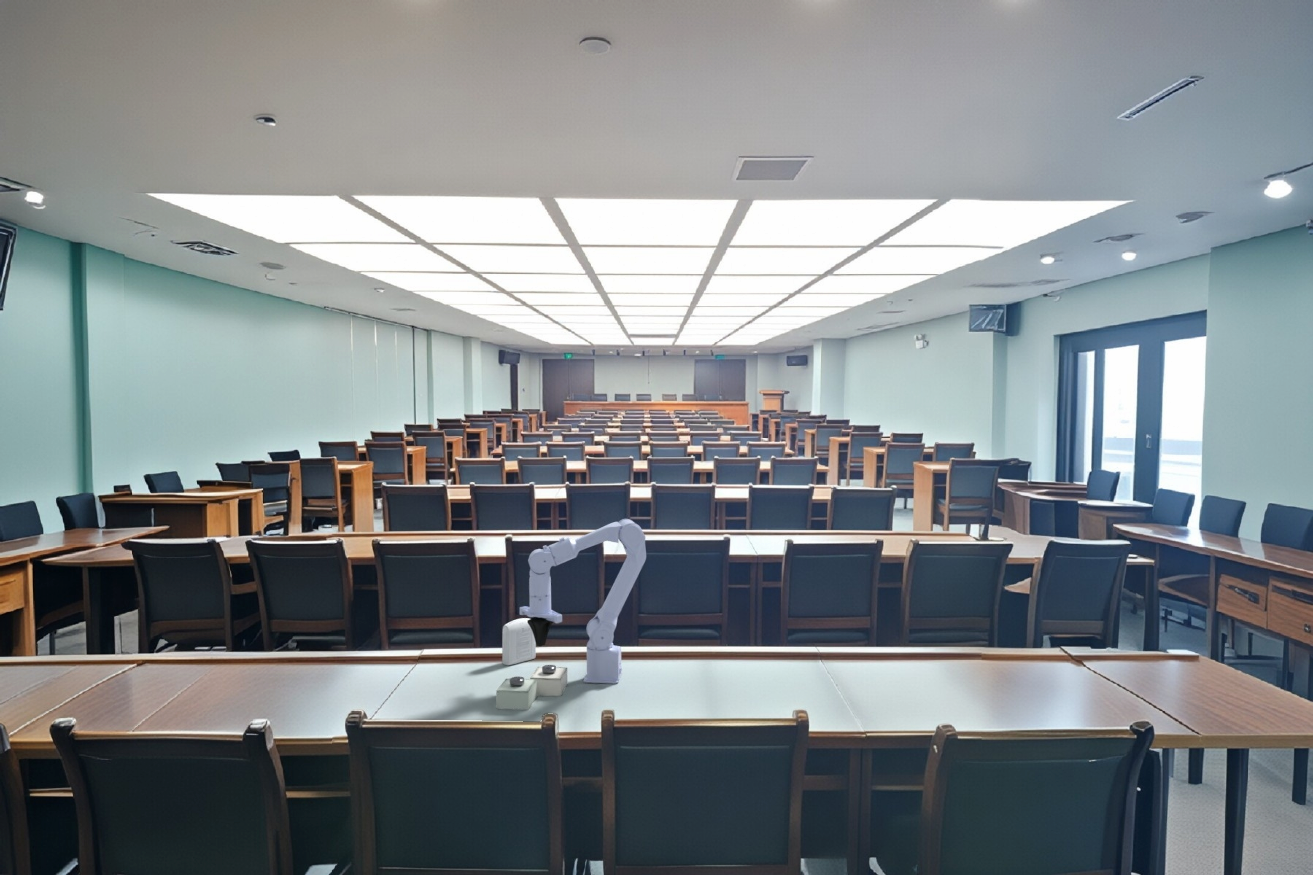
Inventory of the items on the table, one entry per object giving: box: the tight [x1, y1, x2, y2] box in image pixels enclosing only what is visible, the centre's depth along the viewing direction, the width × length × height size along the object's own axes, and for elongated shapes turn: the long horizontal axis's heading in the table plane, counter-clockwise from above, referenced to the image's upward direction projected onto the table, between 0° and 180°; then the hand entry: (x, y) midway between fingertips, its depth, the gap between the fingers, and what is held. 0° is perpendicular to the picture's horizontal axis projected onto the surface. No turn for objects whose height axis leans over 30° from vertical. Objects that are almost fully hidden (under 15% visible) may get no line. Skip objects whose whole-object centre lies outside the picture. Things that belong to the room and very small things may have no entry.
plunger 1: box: [509, 676, 525, 687], centre depth 172 cm, size 5×5×5 cm
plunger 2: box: [541, 664, 557, 674], centre depth 180 cm, size 5×5×5 cm
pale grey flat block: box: [495, 678, 538, 711], centre depth 172 cm, size 8×8×4 cm
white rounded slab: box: [501, 617, 537, 666], centre depth 202 cm, size 10×4×12 cm, turn 134°
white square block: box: [529, 666, 568, 697], centre depth 180 cm, size 8×8×4 cm
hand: (540, 645), depth 185 cm, fingers closed
